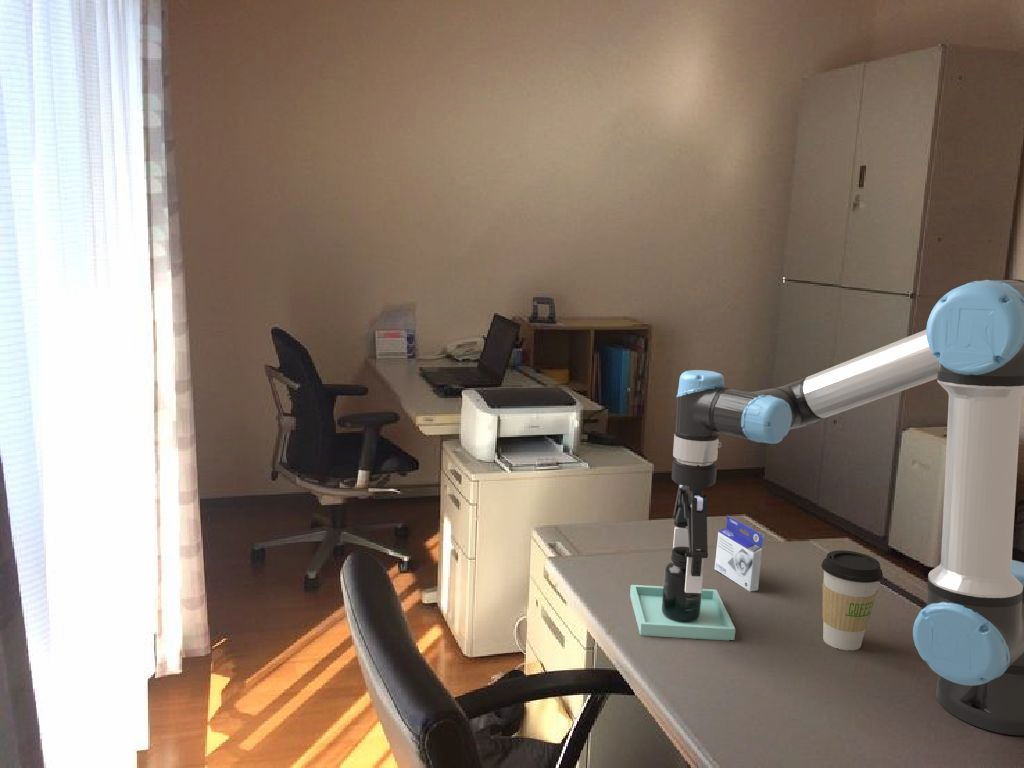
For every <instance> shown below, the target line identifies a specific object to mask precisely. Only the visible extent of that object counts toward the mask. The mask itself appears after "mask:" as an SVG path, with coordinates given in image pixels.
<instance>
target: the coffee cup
mask: <svg viewBox="0 0 1024 768" xmlns="http://www.w3.org/2000/svg"><path fill="white" fill-rule="evenodd" d="M820 565H821V568H822V570H823V580H822V617H821V618H822V620H823V623H822V627H823V628H822V629H823V630H822V632H823V633H822V636H823V637H822V639H823V641H824V642H825V644H826V645H828V646H830V647H832V648H834V649H837V648H838V649H839V650H841V651H842V650H843V651H848V650H849V651H850V650H852V651H857V650H860V648H861V647H862V644H863V640H864V636H865V632H866V630H867V629H868V625H869V623H870V622H869V621H870V618H871V615H872V611H873V608H874V604H875V600H876V597H877V593H878V591H877V590H878V586H879V582H880V581H881V580H882V579H883V577H884V574H883V569H881V563H880V562H879V561H878V560H877V559H876V558H874V557H873V556H870V555H868V554H865V553H860V552H857V551H852V550H842V549H841V550H840V549H839V550H832V551H830V552H828V553H827V555H826V556H825V558H824V559H823V560H822V561H821V564H820Z"/></svg>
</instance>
